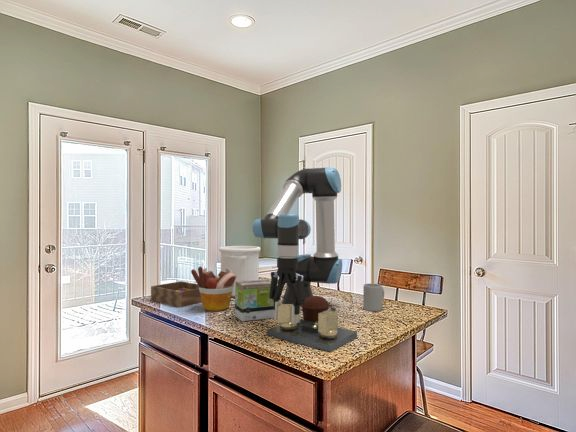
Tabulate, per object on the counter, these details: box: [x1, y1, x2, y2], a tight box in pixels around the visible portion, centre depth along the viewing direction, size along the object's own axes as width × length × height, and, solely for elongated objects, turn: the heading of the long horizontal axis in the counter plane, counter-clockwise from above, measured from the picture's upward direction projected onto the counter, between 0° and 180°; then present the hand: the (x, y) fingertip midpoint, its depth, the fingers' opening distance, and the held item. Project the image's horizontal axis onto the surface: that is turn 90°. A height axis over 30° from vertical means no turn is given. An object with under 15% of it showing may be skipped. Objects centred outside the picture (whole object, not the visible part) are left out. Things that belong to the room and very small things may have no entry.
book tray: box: [150, 280, 202, 309], centre depth 184 cm, size 23×18×7 cm
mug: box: [362, 283, 385, 312], centre depth 171 cm, size 12×8×11 cm
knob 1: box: [276, 303, 301, 330], centre depth 133 cm, size 8×6×9 cm
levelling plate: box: [266, 318, 358, 353], centre depth 131 cm, size 26×18×4 cm
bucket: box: [218, 245, 262, 298], centre depth 201 cm, size 26×22×25 cm
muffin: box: [300, 295, 331, 322], centre depth 149 cm, size 12×11×10 cm
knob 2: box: [318, 307, 339, 339], centre depth 124 cm, size 8×6×9 cm
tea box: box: [234, 279, 275, 322], centre depth 155 cm, size 15×10×15 cm
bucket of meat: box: [190, 266, 236, 312], centre depth 169 cm, size 20×16×20 cm
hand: (286, 321), depth 133 cm, fingers closed on knob 1, 7 cm apart
